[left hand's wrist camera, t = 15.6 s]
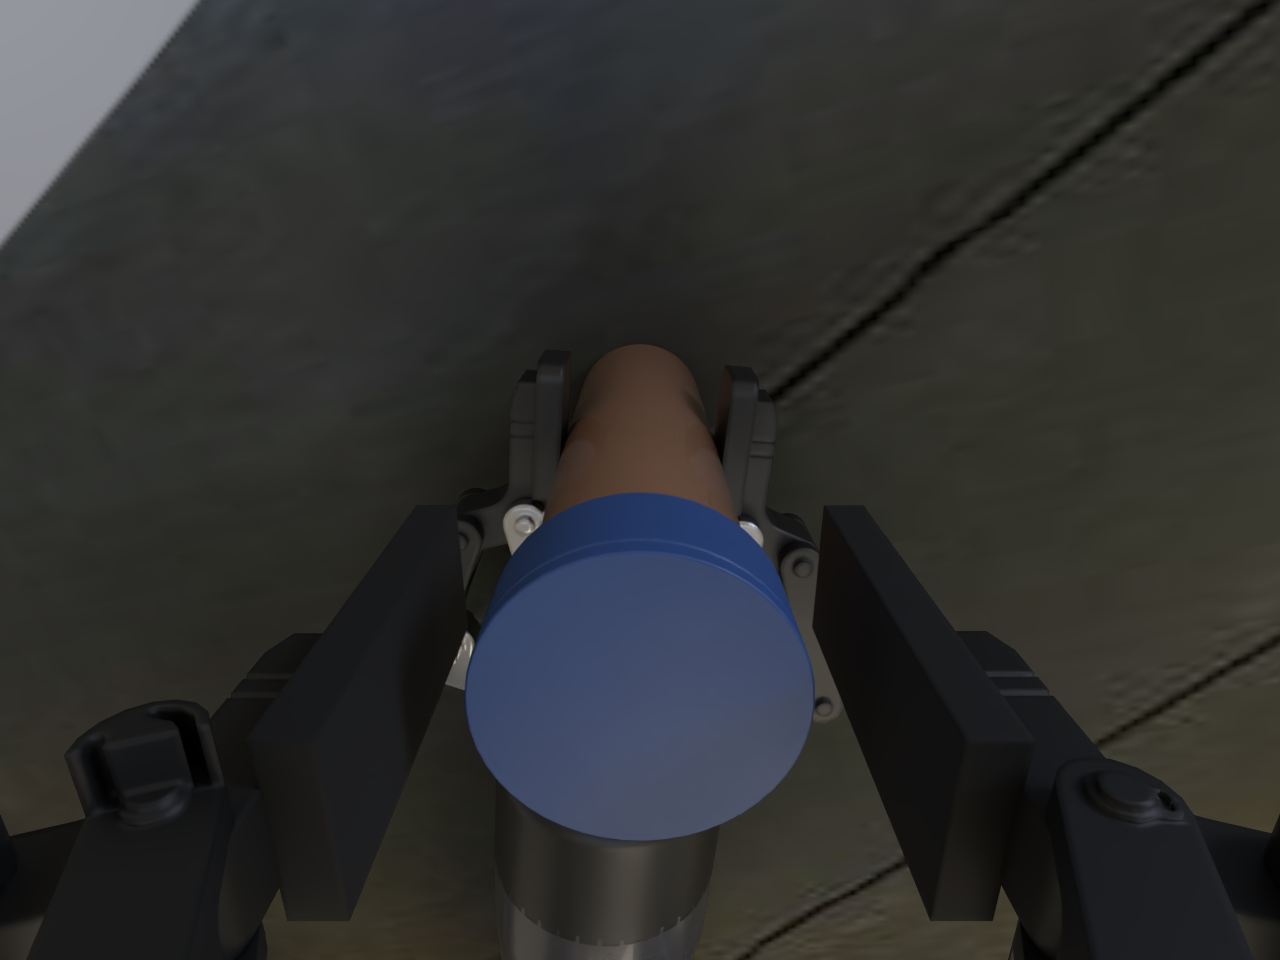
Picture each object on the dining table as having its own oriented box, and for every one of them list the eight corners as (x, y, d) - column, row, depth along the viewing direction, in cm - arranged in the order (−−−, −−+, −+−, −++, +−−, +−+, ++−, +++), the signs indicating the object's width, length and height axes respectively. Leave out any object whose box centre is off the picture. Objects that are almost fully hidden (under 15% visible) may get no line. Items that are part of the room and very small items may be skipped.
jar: (723, 389, 26) (840, 653, 11) (653, 480, 27) (670, 832, 12) (625, 319, 25) (602, 499, 10) (557, 416, 26) (445, 709, 11)
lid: (633, 427, 11) (632, 476, 9) (848, 622, 12) (888, 703, 10) (432, 631, 12) (391, 714, 10) (644, 789, 14) (645, 891, 12)
